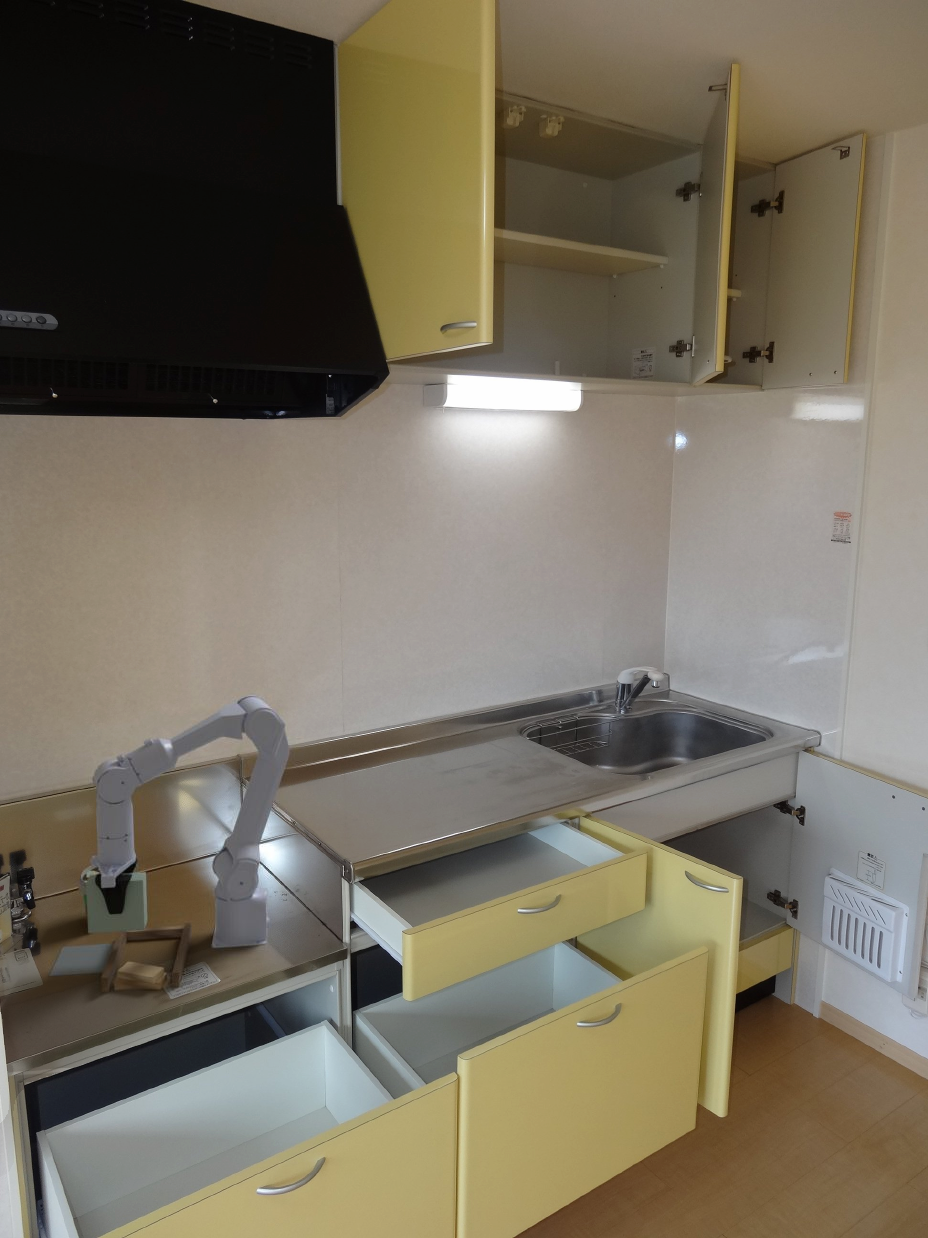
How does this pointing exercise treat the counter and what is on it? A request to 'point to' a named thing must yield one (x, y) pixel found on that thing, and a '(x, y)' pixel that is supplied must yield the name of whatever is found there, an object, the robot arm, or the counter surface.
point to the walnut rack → (142, 935)
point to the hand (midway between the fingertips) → (118, 908)
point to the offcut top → (140, 972)
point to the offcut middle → (140, 983)
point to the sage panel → (132, 912)
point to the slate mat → (82, 960)
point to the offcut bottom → (137, 988)
